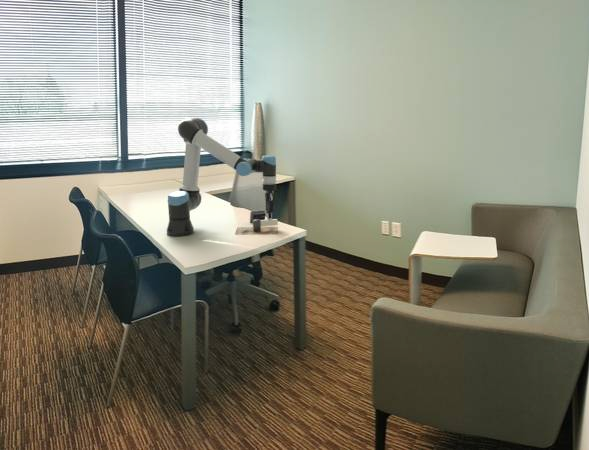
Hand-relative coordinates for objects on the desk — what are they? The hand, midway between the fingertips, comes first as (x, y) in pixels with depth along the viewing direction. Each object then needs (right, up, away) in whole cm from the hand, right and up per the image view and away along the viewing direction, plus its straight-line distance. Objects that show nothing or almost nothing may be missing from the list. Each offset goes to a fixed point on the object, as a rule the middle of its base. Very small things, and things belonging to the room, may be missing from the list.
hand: (269, 223), depth 282 cm
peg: (-6, -4, -2) cm, 7 cm away
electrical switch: (-8, -1, +17) cm, 19 cm away
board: (-7, -5, -2) cm, 9 cm away
